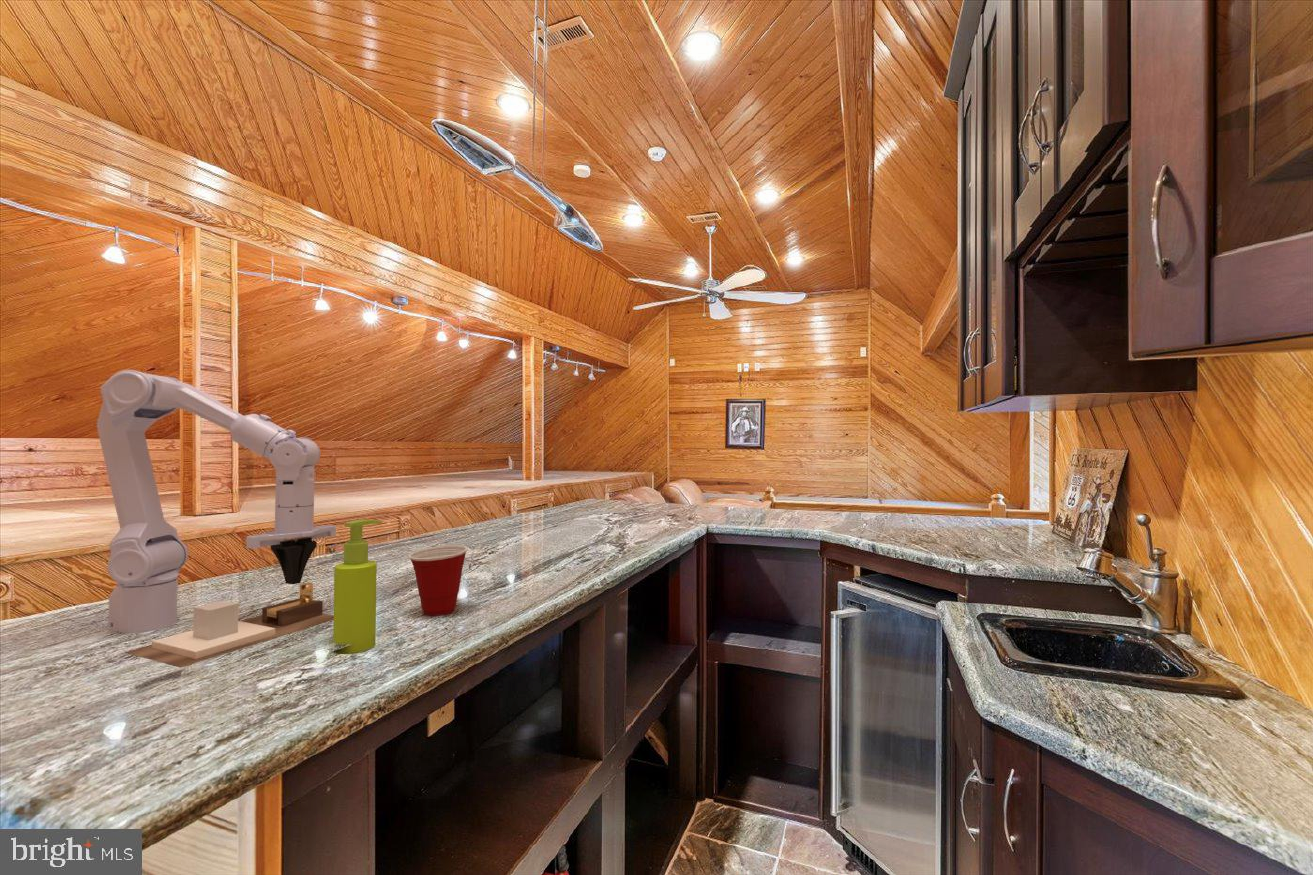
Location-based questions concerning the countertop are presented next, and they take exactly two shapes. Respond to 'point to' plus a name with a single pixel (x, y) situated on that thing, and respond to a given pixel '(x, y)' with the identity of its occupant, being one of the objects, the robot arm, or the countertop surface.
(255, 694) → the countertop surface
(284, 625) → the box base
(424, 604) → the plastic cup
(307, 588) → the brass bolt
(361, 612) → the soap dispenser
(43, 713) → the countertop surface
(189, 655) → the cover
